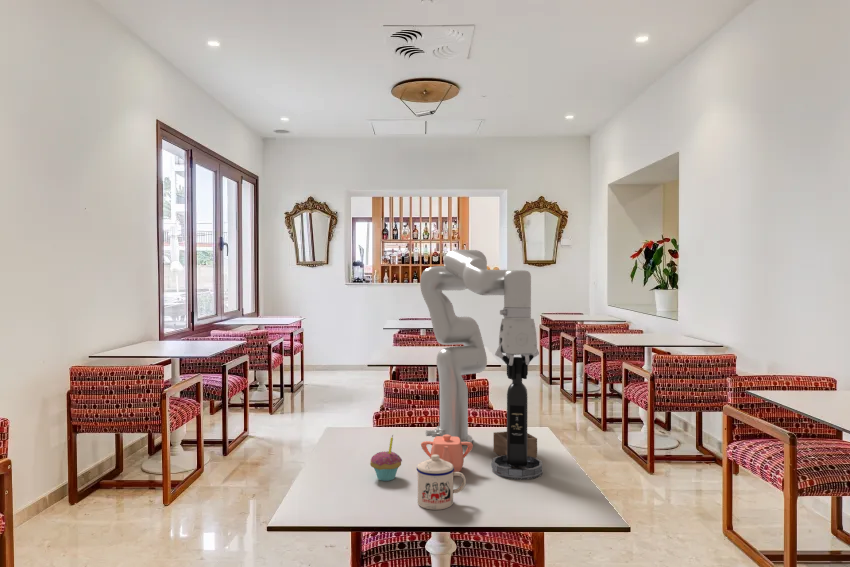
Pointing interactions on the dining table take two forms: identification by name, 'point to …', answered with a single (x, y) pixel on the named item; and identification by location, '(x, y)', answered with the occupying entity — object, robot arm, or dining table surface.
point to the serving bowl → (517, 468)
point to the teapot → (448, 450)
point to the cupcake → (386, 464)
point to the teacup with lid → (436, 483)
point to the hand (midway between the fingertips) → (517, 378)
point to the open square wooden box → (501, 444)
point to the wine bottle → (517, 418)
